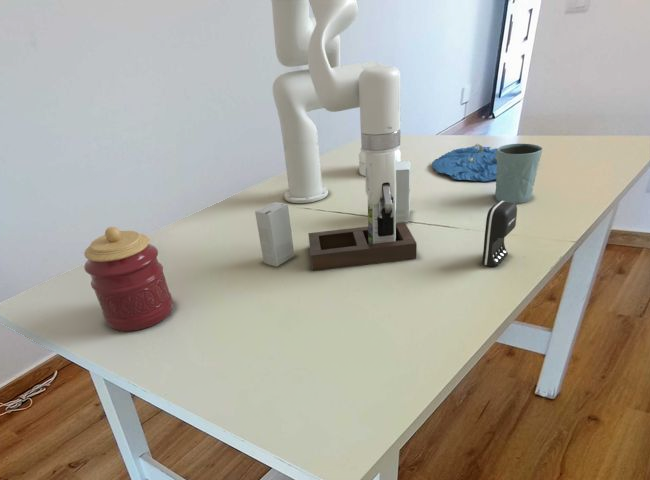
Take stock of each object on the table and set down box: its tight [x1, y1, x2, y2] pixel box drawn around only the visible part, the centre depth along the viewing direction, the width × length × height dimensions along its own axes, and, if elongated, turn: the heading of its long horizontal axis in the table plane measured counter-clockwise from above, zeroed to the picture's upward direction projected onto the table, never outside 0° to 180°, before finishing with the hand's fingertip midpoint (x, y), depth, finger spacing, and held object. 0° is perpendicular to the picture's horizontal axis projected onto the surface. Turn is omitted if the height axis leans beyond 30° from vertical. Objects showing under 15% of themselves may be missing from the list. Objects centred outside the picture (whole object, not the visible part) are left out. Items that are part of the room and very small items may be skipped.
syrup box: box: [367, 188, 396, 244], centre depth 105 cm, size 6×6×14 cm
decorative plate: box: [431, 143, 498, 182], centre depth 148 cm, size 30×30×5 cm
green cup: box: [494, 143, 543, 205], centre depth 123 cm, size 10×10×12 cm
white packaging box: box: [396, 160, 412, 223], centre depth 120 cm, size 7×7×13 cm
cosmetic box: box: [254, 201, 295, 267], centre depth 106 cm, size 6×4×12 cm
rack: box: [307, 222, 418, 272], centre depth 108 cm, size 12×22×4 cm, turn 93°
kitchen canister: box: [83, 226, 174, 332], centre depth 91 cm, size 13×13×18 cm
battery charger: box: [481, 201, 518, 267], centre depth 96 cm, size 7×4×11 cm, turn 142°
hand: (382, 227), depth 106 cm, fingers open, 7 cm apart
